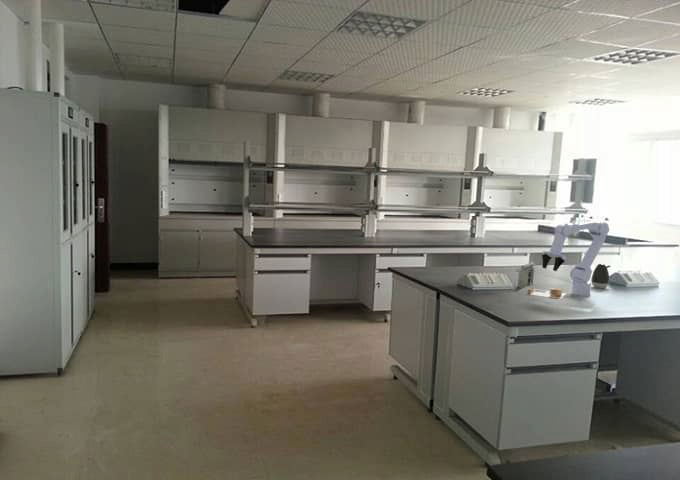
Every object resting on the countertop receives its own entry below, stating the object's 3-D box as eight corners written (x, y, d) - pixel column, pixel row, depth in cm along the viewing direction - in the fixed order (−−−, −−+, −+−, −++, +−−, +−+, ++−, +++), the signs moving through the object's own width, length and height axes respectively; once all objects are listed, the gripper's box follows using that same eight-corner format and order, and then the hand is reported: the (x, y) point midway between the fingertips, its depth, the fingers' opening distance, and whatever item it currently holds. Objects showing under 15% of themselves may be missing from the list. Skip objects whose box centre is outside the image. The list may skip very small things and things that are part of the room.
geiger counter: (526, 265, 316) (539, 261, 336) (515, 264, 319) (528, 260, 339) (524, 288, 317) (537, 283, 337) (513, 287, 321) (527, 281, 341)
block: (561, 296, 293) (562, 289, 292) (559, 297, 288) (560, 290, 288) (551, 294, 295) (552, 287, 295) (550, 296, 291) (550, 289, 291)
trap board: (566, 295, 301) (566, 288, 301) (560, 301, 286) (561, 294, 285) (533, 291, 311) (533, 284, 310) (526, 296, 295) (526, 289, 295)
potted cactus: (612, 289, 325) (614, 265, 323) (595, 289, 325) (597, 264, 323) (604, 286, 335) (606, 262, 333) (587, 285, 335) (589, 262, 333)
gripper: (542, 241, 296) (534, 264, 296) (562, 245, 283) (554, 270, 283) (550, 245, 299) (543, 268, 299) (571, 249, 286) (563, 273, 286)
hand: (549, 269), depth 291 cm, fingers open, 7 cm apart
